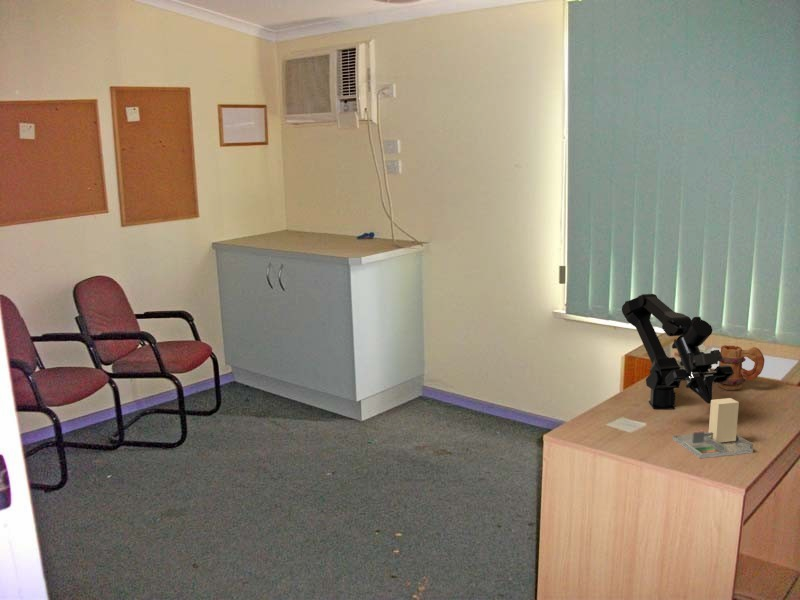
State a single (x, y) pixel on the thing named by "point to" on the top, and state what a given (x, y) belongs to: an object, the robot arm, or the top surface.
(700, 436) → the drag pointer
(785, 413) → the top surface
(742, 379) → the mug
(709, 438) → the gauge frame
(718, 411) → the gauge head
